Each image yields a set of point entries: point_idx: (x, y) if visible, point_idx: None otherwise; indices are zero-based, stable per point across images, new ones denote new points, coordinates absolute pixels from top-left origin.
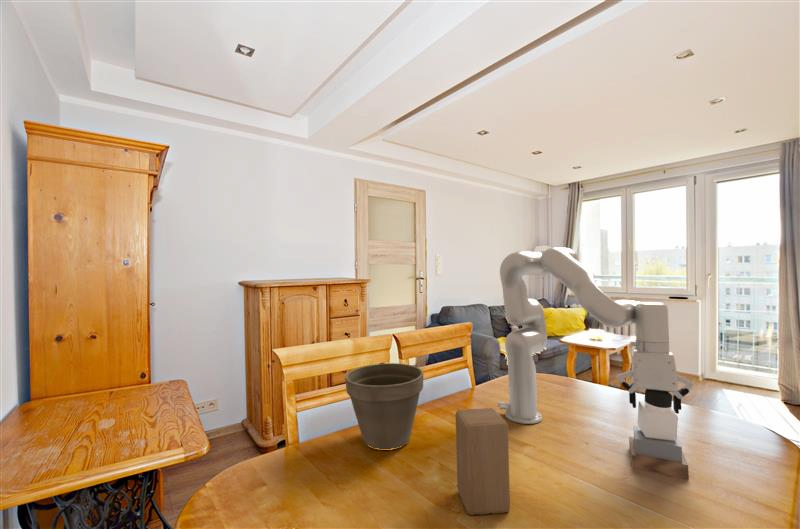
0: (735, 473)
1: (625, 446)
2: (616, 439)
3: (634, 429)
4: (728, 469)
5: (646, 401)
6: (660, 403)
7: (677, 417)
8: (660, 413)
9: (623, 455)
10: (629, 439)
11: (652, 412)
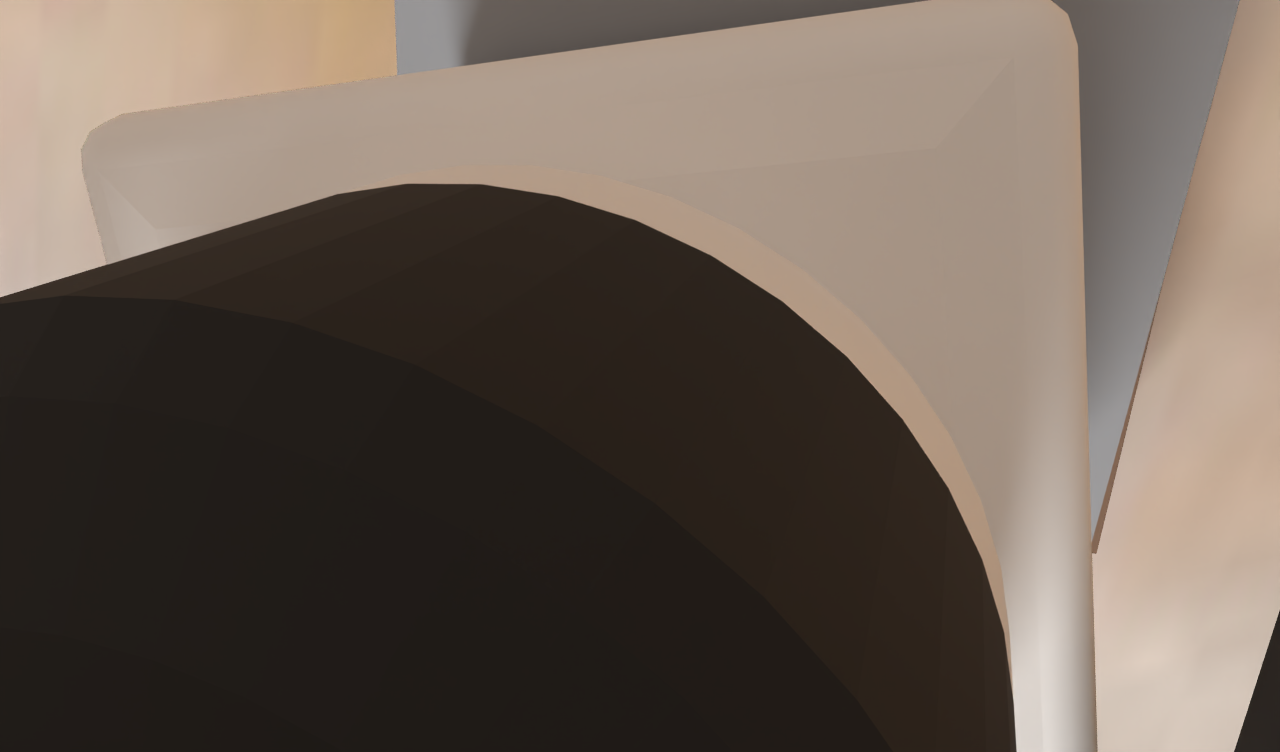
0: (37, 183)
1: (1112, 501)
2: (1179, 671)
3: (1113, 437)
4: (90, 256)
5: (990, 597)
6: (355, 211)
7: (99, 126)
8: (545, 126)
9: (1232, 209)
10: (1114, 467)
11: (828, 104)
